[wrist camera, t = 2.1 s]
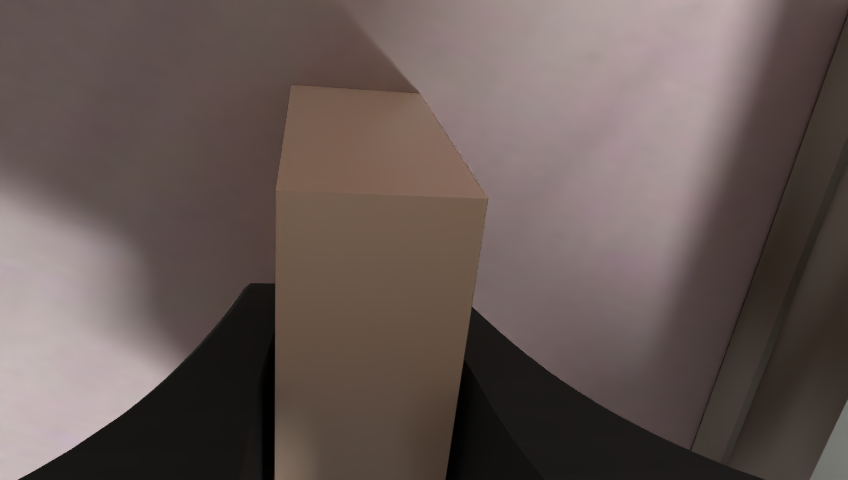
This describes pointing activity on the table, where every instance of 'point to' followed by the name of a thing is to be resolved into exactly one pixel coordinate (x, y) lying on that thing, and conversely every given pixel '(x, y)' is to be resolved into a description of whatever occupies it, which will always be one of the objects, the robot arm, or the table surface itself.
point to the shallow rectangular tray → (794, 320)
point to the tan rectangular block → (370, 286)
